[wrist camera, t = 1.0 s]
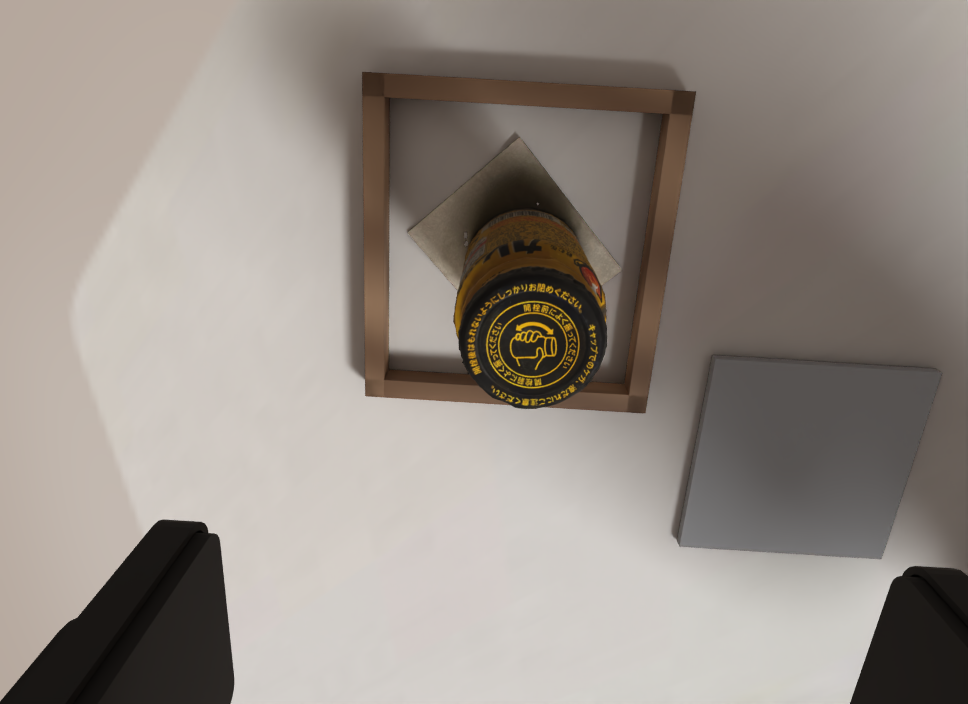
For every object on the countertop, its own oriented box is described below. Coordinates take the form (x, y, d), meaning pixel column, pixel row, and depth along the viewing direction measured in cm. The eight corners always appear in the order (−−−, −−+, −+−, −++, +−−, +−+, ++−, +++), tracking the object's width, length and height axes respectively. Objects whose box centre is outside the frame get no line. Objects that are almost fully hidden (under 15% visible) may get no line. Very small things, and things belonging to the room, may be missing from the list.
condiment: (511, 352, 36) (516, 465, 24) (407, 232, 33) (360, 295, 22) (621, 269, 34) (680, 350, 23) (519, 136, 32) (529, 153, 20)
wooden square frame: (639, 401, 36) (645, 413, 35) (370, 385, 36) (365, 396, 35) (687, 92, 31) (696, 91, 29) (368, 73, 31) (362, 71, 29)
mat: (875, 552, 39) (881, 559, 39) (677, 540, 40) (679, 546, 39) (935, 368, 35) (942, 372, 35) (712, 355, 35) (715, 359, 35)
